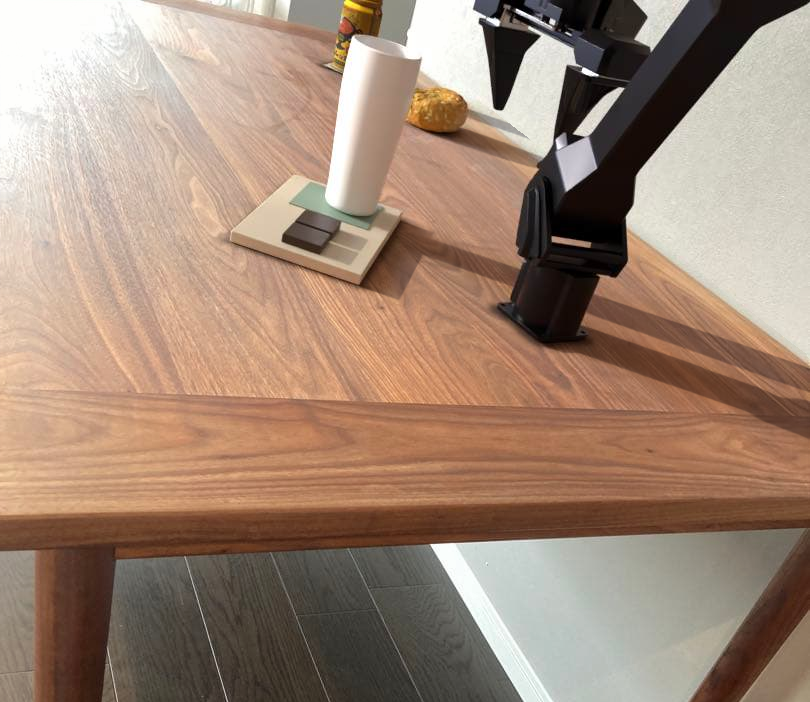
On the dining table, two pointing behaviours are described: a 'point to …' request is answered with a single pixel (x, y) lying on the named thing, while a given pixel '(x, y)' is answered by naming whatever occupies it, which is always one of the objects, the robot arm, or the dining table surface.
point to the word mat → (316, 231)
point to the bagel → (437, 110)
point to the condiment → (355, 27)
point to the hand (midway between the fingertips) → (527, 127)
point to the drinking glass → (369, 121)
